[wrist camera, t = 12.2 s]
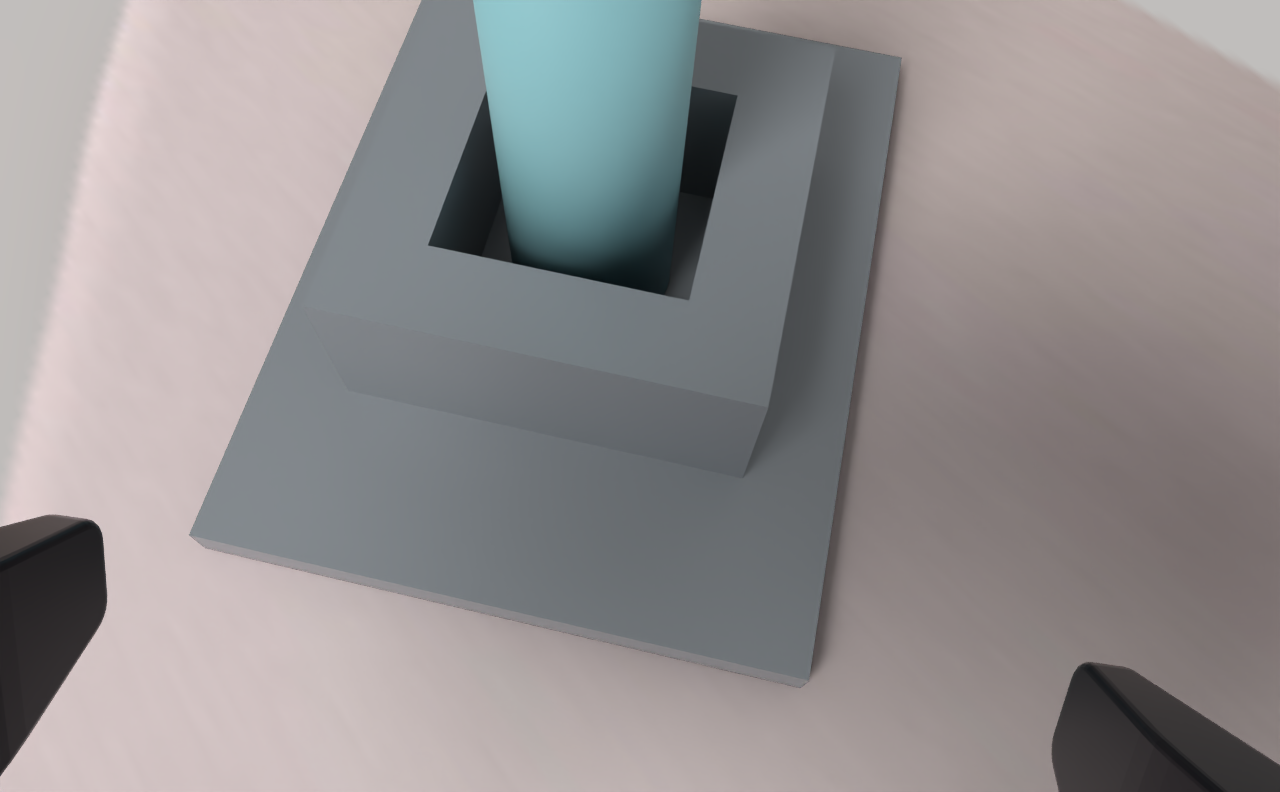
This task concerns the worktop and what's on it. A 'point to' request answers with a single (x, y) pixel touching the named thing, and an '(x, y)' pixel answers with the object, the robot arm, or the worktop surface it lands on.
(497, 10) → the peg
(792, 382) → the socket holder
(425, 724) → the worktop surface
